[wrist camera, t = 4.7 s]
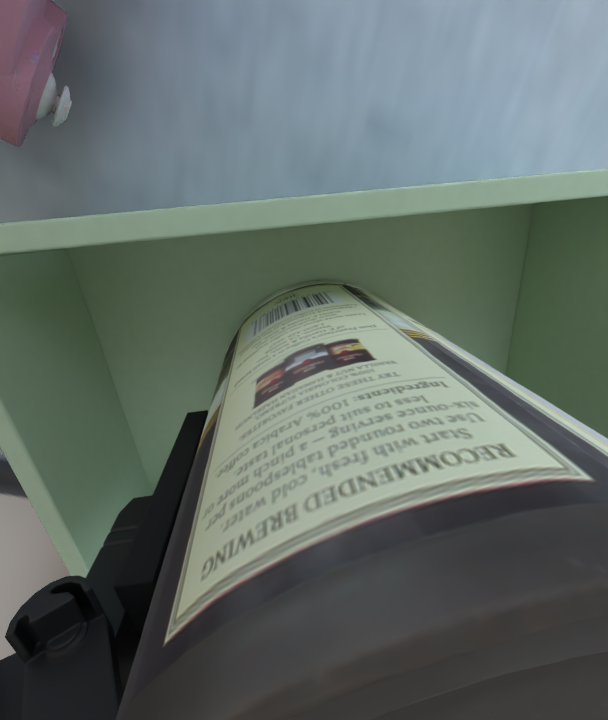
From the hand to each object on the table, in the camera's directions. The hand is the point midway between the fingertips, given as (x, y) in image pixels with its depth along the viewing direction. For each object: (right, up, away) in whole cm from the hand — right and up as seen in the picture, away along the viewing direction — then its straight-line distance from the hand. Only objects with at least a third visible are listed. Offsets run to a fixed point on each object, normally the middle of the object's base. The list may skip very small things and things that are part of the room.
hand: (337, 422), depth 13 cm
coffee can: (0, +2, +4) cm, 4 cm away
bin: (0, +2, +4) cm, 5 cm away
